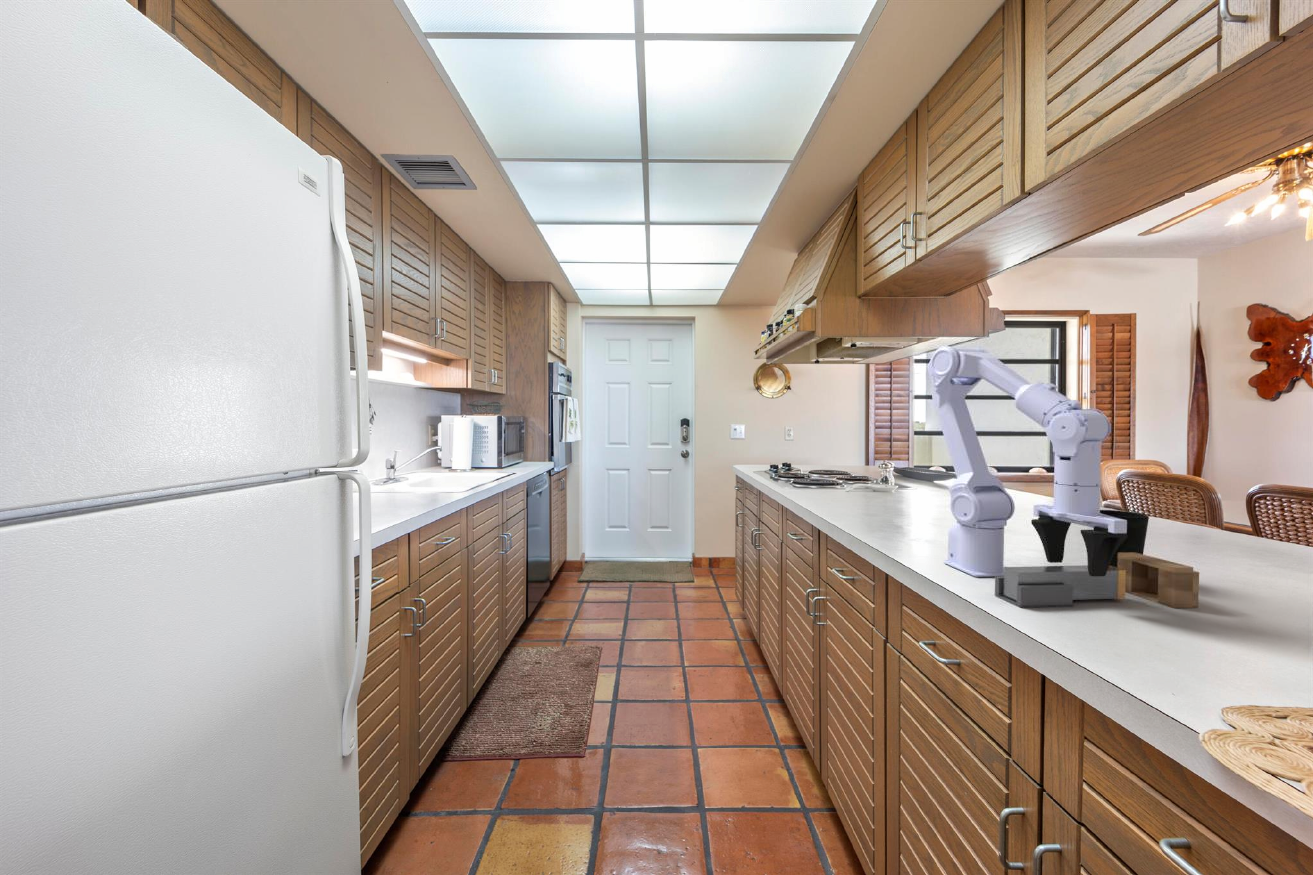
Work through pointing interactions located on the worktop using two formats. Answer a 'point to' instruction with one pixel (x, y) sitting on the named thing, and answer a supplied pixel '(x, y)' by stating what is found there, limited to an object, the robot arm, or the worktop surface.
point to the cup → (1130, 532)
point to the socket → (1160, 580)
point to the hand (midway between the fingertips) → (1075, 568)
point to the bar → (1067, 580)
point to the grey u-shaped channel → (1037, 595)
